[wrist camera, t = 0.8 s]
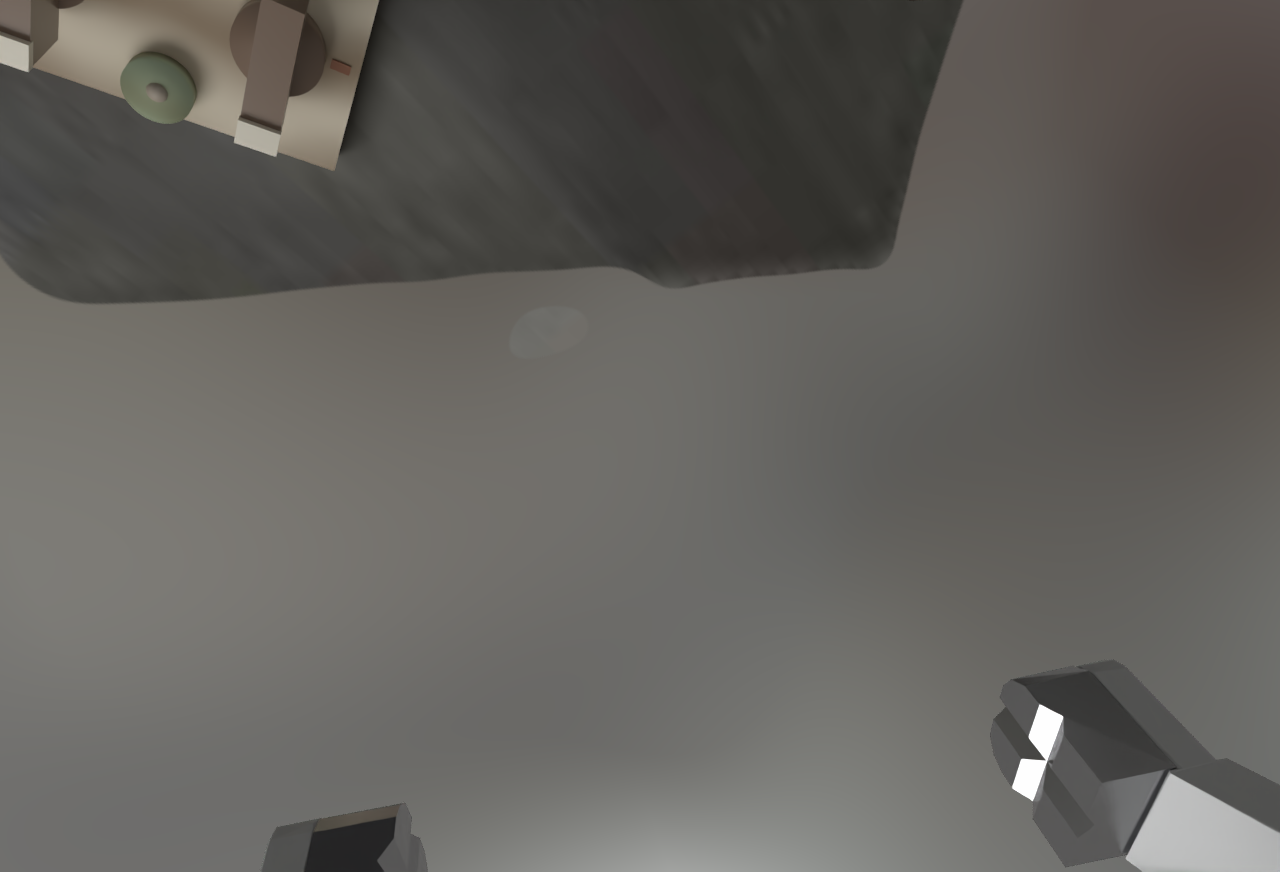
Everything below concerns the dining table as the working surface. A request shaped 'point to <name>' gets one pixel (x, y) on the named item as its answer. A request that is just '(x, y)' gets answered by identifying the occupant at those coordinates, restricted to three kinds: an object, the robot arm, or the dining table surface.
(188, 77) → the control panel
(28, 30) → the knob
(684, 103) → the dining table surface
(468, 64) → the dining table surface
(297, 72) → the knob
